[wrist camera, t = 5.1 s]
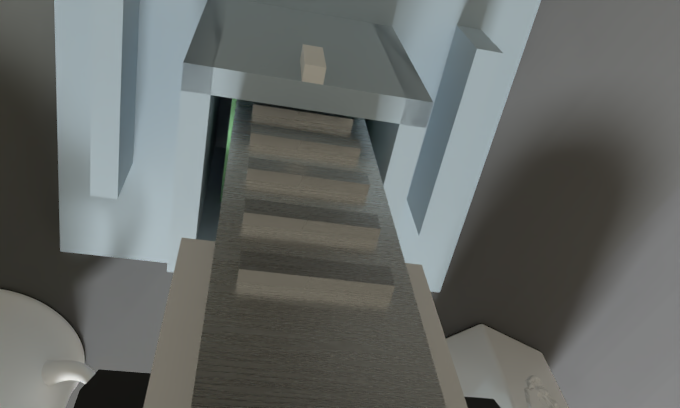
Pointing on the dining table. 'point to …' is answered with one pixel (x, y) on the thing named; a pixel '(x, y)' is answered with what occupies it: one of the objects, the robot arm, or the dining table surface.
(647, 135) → the dining table surface
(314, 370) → the column
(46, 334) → the mug
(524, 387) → the jar
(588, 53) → the dining table surface
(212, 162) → the stand base
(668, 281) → the dining table surface
